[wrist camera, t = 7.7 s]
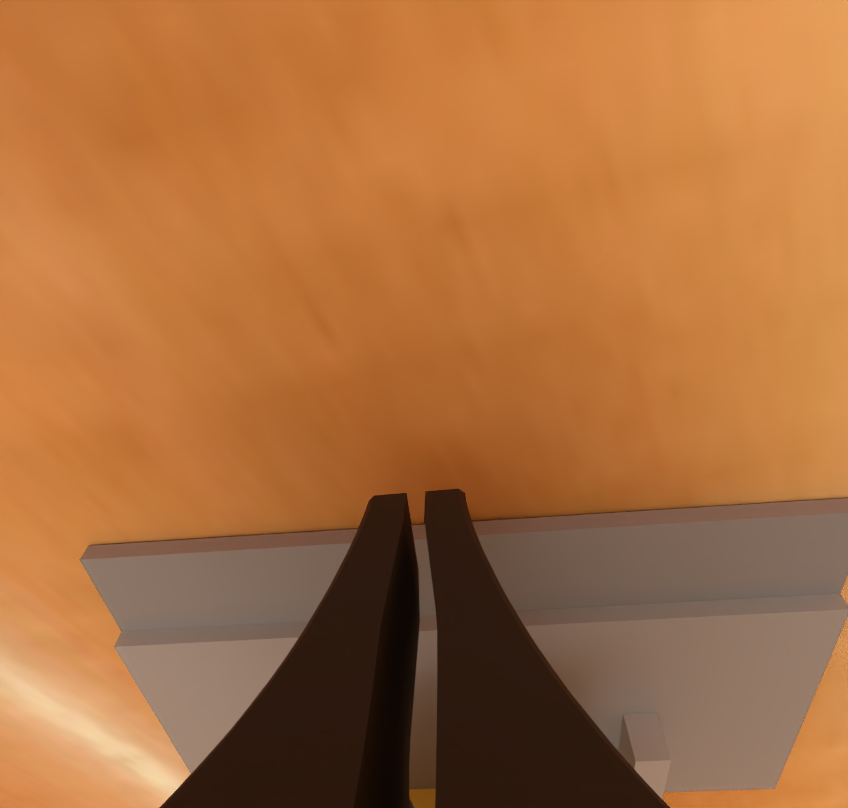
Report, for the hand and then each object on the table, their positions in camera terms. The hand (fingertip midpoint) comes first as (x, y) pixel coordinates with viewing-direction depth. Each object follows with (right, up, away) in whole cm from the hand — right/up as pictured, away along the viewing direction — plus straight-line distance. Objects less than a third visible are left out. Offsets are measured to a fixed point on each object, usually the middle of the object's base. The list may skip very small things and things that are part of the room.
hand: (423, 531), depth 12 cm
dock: (+2, -6, +8) cm, 10 cm away
